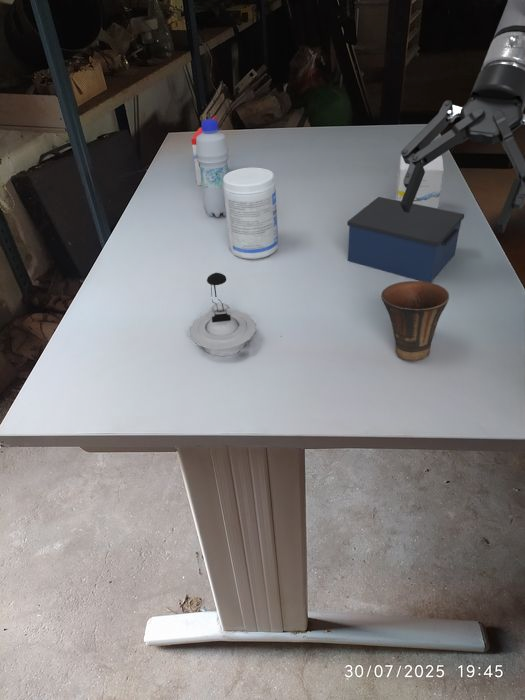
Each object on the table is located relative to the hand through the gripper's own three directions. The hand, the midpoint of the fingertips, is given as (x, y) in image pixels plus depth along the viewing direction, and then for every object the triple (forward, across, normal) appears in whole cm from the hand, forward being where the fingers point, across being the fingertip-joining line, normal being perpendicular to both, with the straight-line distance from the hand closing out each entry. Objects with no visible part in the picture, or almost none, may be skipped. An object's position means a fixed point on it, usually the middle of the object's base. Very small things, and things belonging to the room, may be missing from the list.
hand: (450, 218), depth 76 cm
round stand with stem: (+28, -24, -5) cm, 37 cm away
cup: (+19, 0, +4) cm, 19 cm away
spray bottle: (-8, -70, +32) cm, 77 cm away
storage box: (+1, -12, +22) cm, 25 cm away
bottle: (+2, -55, +21) cm, 59 cm away
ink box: (-11, -17, +35) cm, 40 cm away
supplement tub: (+9, -38, +14) cm, 42 cm away
